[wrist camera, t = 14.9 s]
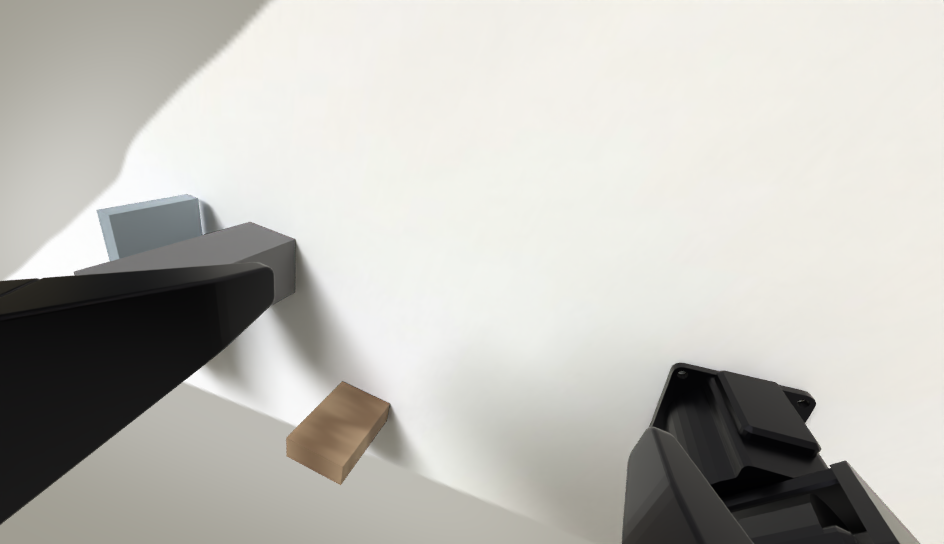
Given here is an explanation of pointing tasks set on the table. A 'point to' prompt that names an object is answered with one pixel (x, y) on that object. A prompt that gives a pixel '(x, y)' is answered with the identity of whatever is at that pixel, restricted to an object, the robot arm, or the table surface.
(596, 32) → the table surface
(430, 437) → the table surface
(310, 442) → the wooden blocks
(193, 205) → the door
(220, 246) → the tall gray pillar
